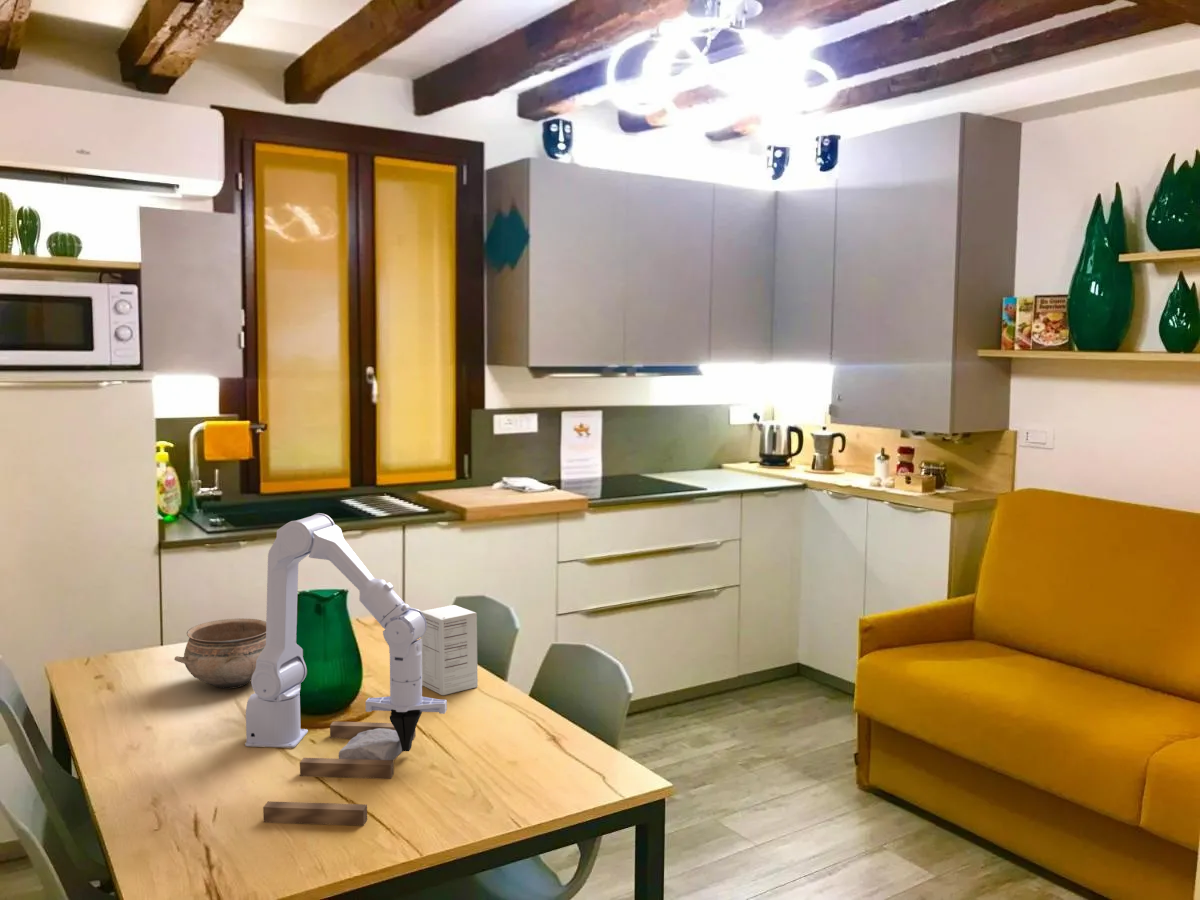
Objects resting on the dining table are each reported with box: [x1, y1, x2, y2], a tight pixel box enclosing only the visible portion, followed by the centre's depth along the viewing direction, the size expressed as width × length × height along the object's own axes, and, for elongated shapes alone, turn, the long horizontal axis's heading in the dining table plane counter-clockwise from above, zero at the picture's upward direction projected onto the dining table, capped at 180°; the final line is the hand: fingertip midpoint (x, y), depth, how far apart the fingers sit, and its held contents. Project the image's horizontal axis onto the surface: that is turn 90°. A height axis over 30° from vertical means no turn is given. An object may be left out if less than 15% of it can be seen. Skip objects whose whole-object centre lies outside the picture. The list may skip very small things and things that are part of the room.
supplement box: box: [420, 604, 479, 696], centre depth 223 cm, size 10×9×17 cm
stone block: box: [338, 728, 403, 761], centre depth 186 cm, size 12×5×10 cm
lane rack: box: [262, 721, 416, 826], centre depth 178 cm, size 16×36×2 cm, turn 177°
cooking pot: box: [174, 618, 266, 690], centre depth 223 cm, size 25×19×12 cm
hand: (406, 749), depth 186 cm, fingers closed
